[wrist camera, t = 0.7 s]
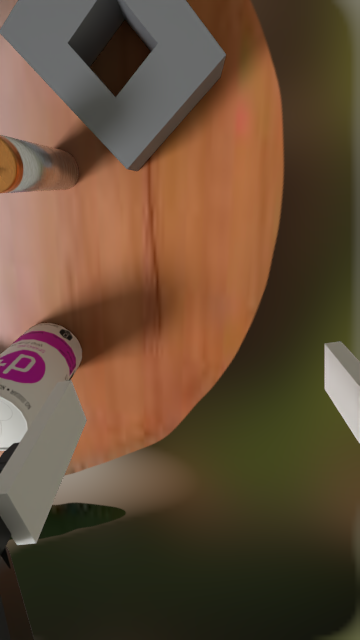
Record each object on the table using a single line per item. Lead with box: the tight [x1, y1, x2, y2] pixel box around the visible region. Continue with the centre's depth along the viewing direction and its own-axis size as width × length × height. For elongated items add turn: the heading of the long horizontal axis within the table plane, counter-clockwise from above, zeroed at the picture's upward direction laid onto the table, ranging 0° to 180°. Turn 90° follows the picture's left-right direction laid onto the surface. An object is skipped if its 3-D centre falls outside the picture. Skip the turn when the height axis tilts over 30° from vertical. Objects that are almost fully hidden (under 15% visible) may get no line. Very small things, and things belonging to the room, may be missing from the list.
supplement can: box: [0, 323, 82, 451], centre depth 37 cm, size 8×8×15 cm
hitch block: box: [0, 0, 226, 171], centre depth 29 cm, size 14×12×6 cm
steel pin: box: [0, 135, 79, 193], centre depth 29 cm, size 4×4×14 cm
